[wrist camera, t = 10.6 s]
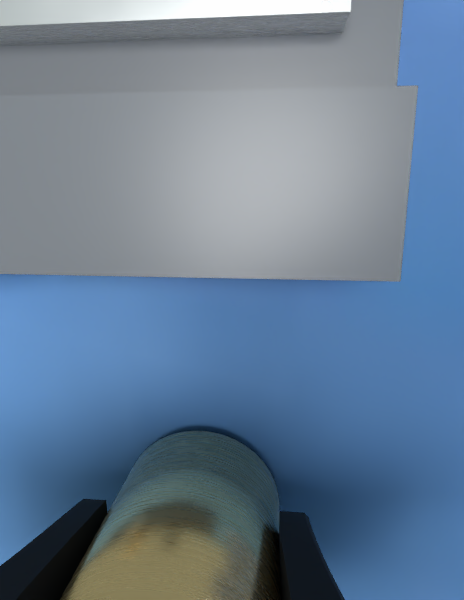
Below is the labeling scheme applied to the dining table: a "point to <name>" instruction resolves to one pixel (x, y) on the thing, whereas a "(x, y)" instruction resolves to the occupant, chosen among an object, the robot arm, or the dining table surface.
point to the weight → (187, 527)
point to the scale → (204, 138)
